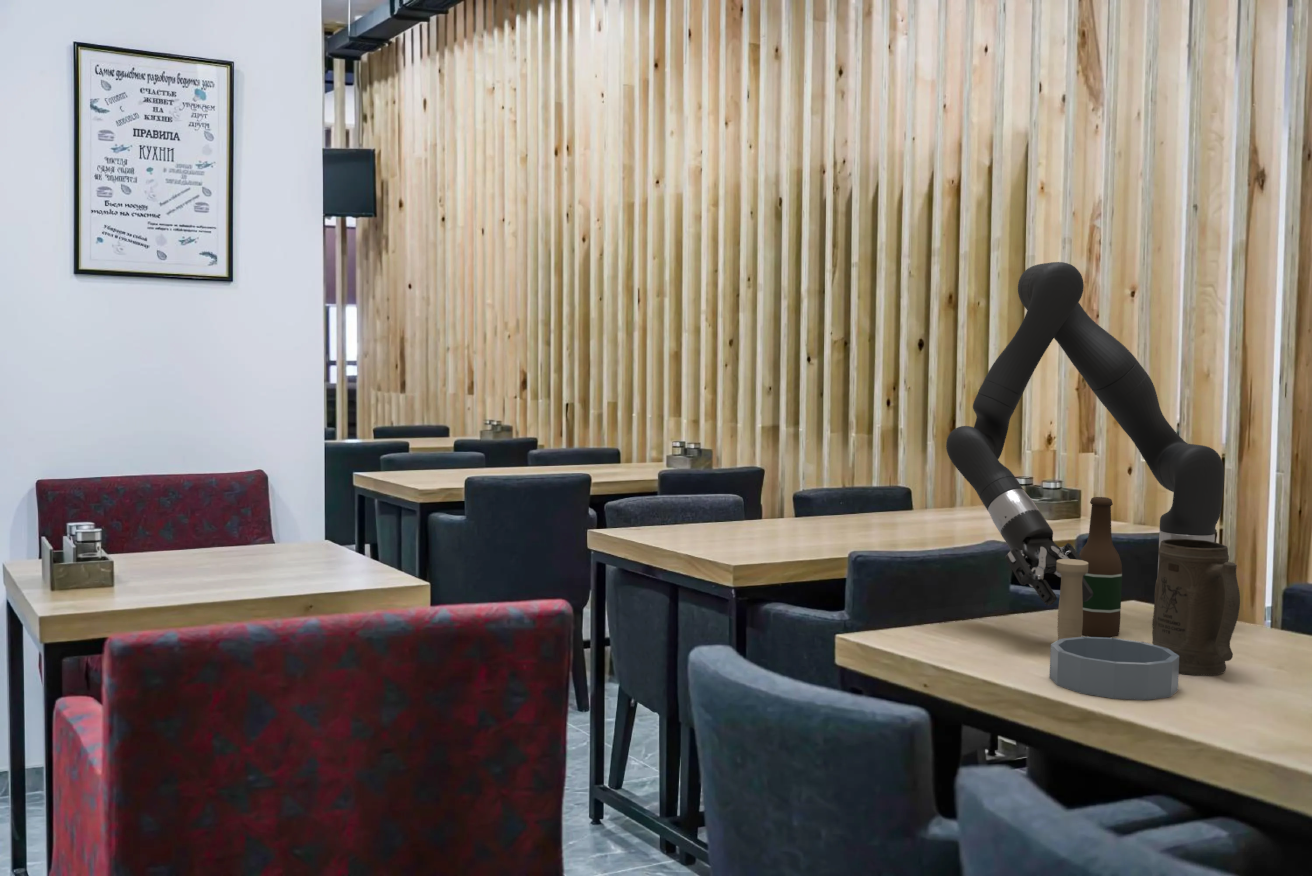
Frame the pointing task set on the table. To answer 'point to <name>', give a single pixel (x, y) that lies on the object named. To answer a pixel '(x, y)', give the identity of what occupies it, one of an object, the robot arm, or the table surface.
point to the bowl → (1114, 668)
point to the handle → (1071, 597)
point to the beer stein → (1196, 604)
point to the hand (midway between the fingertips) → (1070, 600)
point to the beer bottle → (1102, 574)
